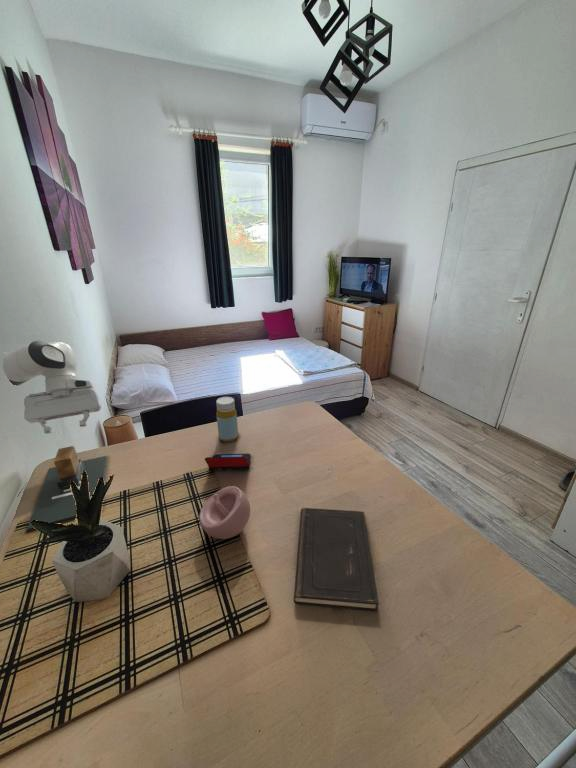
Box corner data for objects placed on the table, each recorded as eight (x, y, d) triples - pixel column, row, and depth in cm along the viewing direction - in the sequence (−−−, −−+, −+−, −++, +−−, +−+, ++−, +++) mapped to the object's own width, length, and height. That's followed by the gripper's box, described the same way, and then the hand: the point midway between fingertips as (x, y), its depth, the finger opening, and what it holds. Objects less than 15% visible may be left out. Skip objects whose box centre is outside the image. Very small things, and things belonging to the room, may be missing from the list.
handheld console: (251, 456, 108) (250, 436, 105) (248, 477, 98) (246, 457, 95) (213, 456, 108) (211, 437, 105) (206, 478, 98) (203, 457, 95)
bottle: (224, 431, 122) (221, 395, 117) (241, 433, 120) (238, 397, 114) (215, 440, 116) (211, 403, 110) (233, 444, 114) (229, 406, 108)
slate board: (27, 531, 80) (26, 529, 80) (50, 470, 102) (49, 468, 101) (100, 511, 86) (100, 508, 86) (107, 457, 108) (106, 455, 107)
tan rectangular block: (58, 488, 93) (50, 465, 90) (64, 468, 101) (57, 446, 98) (78, 483, 95) (71, 460, 92) (83, 464, 103) (76, 442, 100)
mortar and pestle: (201, 516, 84) (196, 481, 79) (247, 507, 86) (245, 472, 82) (202, 556, 73) (196, 517, 69) (254, 544, 76) (252, 506, 71)
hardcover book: (363, 518, 83) (364, 511, 82) (377, 611, 62) (378, 603, 61) (300, 514, 84) (300, 507, 83) (293, 604, 63) (293, 596, 62)
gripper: (19, 391, 99) (20, 434, 94) (95, 380, 106) (99, 419, 102) (27, 398, 104) (29, 439, 100) (99, 387, 112) (104, 425, 108)
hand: (65, 429), depth 101 cm, fingers open, 8 cm apart
